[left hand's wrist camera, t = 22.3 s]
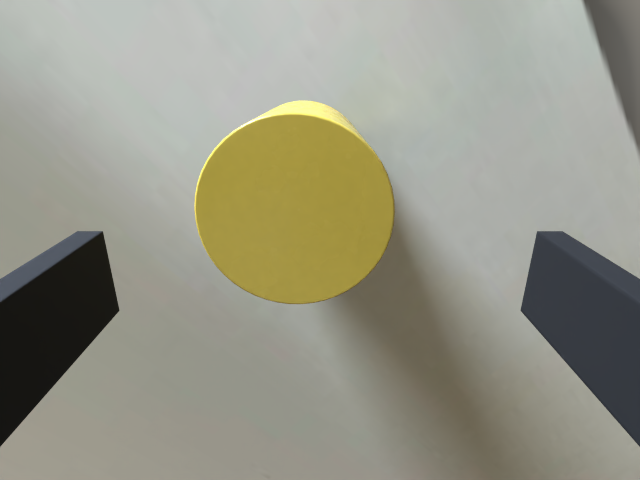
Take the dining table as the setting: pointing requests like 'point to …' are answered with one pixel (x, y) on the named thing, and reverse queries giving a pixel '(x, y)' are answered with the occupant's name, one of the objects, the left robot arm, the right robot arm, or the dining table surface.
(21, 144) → the dining table surface
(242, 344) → the dining table surface
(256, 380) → the dining table surface
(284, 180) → the canister
